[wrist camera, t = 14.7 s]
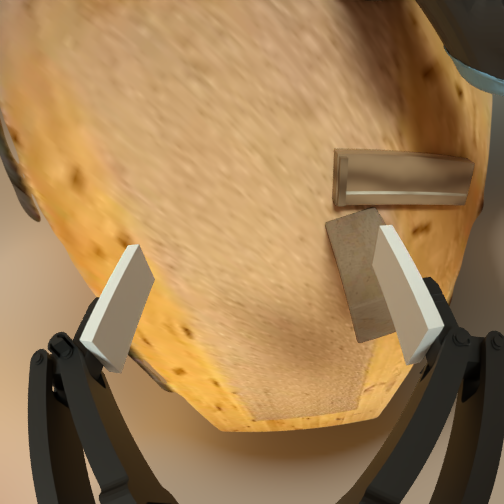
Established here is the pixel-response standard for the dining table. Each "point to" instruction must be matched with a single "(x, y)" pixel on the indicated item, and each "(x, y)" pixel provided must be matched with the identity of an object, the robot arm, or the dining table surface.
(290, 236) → the dining table surface
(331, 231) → the wooden block
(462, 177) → the curved panel
